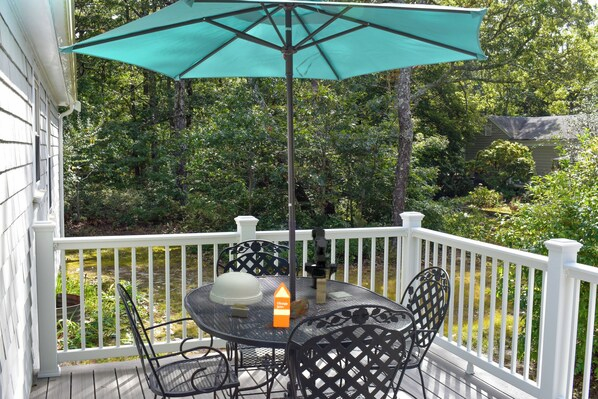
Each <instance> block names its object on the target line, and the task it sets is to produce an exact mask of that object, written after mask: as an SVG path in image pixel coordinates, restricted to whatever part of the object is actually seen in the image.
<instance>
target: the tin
mask: <svg viewBox="0 0 598 399" xmlns="http://www.w3.org/2000/svg"><path fill="white" fill-rule="evenodd" d="M309 309H310V303H309V300H308V299H306V298H299V299H297V300H293V301H290V315H289V318H293V319H297V318H296V317H298V316H301V315H303V316H305V315H304V314H306V313H308V312H309ZM306 315H307V314H306ZM301 317H302V316H301ZM298 318H299V317H298Z"/></svg>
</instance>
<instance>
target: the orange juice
mask: <svg viewBox="0 0 598 399" xmlns="http://www.w3.org/2000/svg"><path fill="white" fill-rule="evenodd" d="M273 298H274V299H273V300H274V302H273V327H275V328H290V316H289V315H290V303H291V292H290V291H289V290H288V288H287V286H286V285H285V284H284V282H281V283H280V285H279V286H278V288H277V289H276V290H275V291H274V294H273Z"/></svg>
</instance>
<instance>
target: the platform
mask: <svg viewBox="0 0 598 399" xmlns="http://www.w3.org/2000/svg"><path fill="white" fill-rule="evenodd" d="M229 308H230V309H231V310H232V313H231V316H232V317H238V316H239V317H241V318H248V311H250V308H249V307H248V306H246V305H243V304H240V305H238V303H235V304H234V305H230V307H229Z"/></svg>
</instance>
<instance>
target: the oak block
mask: <svg viewBox="0 0 598 399" xmlns="http://www.w3.org/2000/svg"><path fill="white" fill-rule="evenodd" d="M315 290H316V293H315V304H316V303H325V304H326V302H327V300H326V297H327V279H326V278H325V279H317V289H315Z"/></svg>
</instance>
